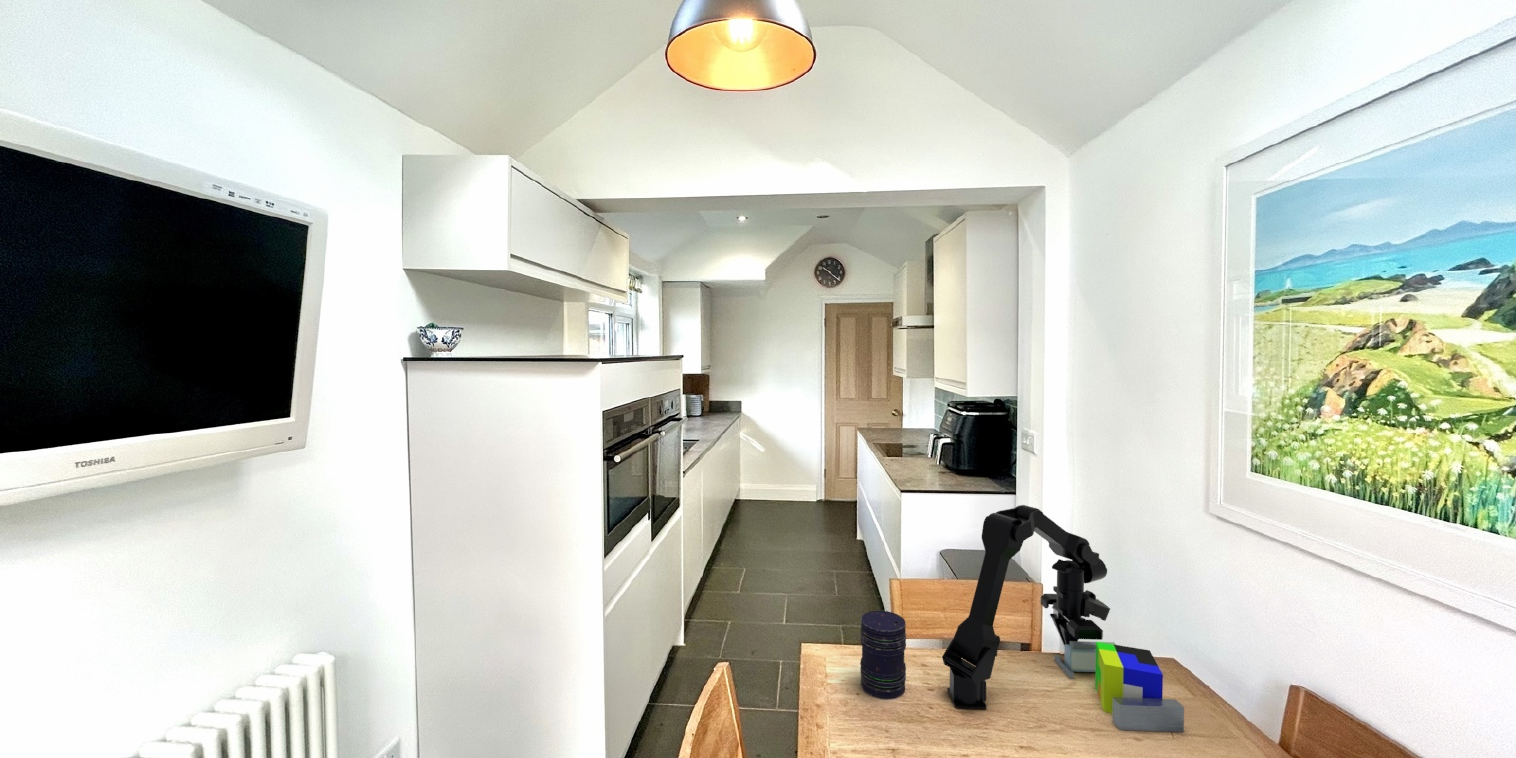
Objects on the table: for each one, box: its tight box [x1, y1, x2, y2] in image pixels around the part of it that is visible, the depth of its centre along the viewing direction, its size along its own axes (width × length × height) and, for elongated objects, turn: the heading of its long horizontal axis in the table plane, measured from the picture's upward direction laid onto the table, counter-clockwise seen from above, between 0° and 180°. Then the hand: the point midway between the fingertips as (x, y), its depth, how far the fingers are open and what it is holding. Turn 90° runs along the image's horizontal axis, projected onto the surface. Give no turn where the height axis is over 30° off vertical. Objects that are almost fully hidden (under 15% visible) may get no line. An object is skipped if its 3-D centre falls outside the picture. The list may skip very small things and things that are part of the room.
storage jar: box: [859, 610, 907, 700], centre depth 124 cm, size 10×10×15 cm
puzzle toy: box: [1094, 641, 1164, 714], centre depth 118 cm, size 10×10×10 cm
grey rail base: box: [1054, 654, 1185, 733], centre depth 121 cm, size 14×25×5 cm, turn 176°
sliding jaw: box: [1063, 640, 1117, 673], centre depth 130 cm, size 12×3×6 cm, turn 86°
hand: (1069, 649), depth 135 cm, fingers closed
